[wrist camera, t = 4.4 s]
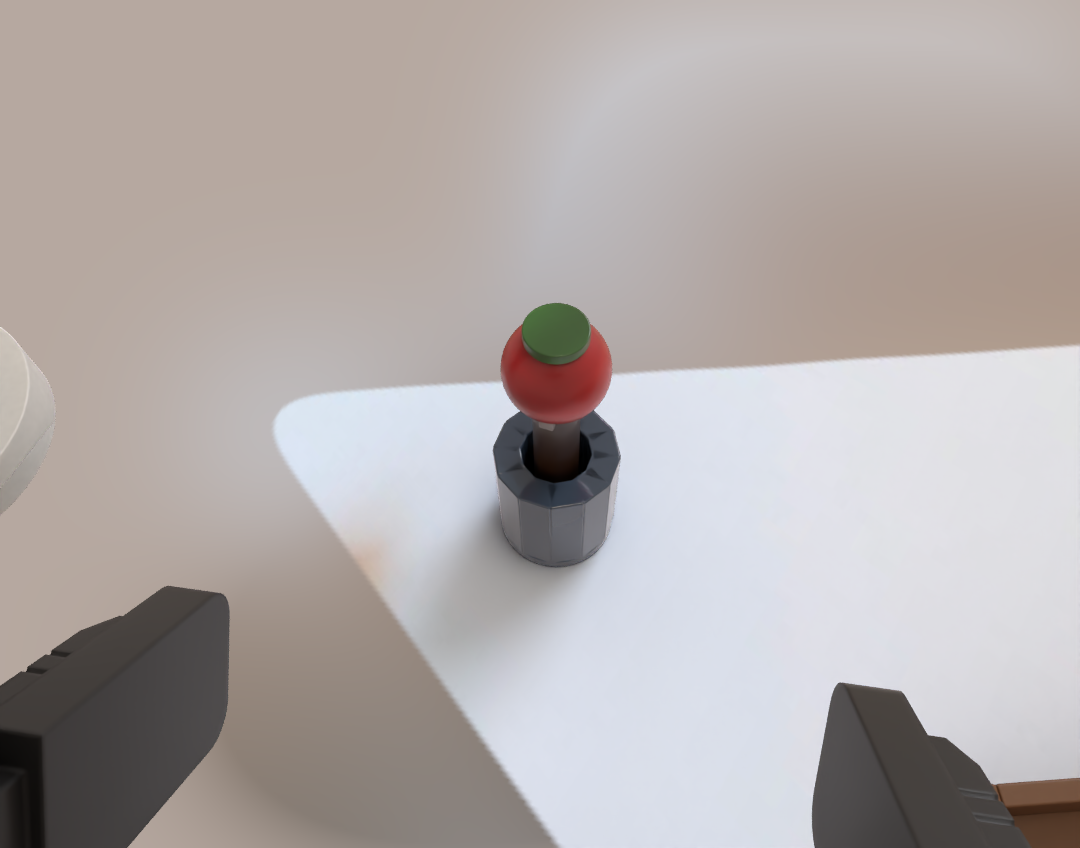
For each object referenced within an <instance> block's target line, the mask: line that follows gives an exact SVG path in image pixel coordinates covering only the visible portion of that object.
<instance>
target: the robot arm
mask: <svg viewBox="0 0 1080 848" xmlns="http://www.w3.org/2000/svg"><path fill="white" fill-rule="evenodd" d="M228 669H229V605H228V601H227V599H226V597H225V596H224V595H223V594H221V593H215V592H208V591H201V590H194V589H186V588H180V587H172V586H166V587H164V588H162V589H160V590H159V591H158V592H156V593H155V594H153V595H152V596H150V597H149V598H148V599H146V600H145V601H144V602H142V603H141V604H139V605H138V606H137V607H135V608H134V609H132V610H131V611H130V612H128V613H127V614H125V615H124V616H118V617H115V618H113V619H110V620H107V621H105V622H102V623H99V624H97V625H94V626H92V627H89V628H86V629H84V630H81V631H79V632H78V633H76V634H75V635H73V636H72V637H70V638H69V639H68V640H66V641H65V642H63V643H62V644H60V645H59V646H57V647H56V648H54V649H53V650H52V651H51V654H50V655H44V656H43V657H41V658H40V659H38V660H37V661H36V662H34V663H33V664H31V665H30V666H28V667H27V671H26V672H20V673H18V674H17V675H15V676H14V677H13V678H11V679H9V680H8V681H7V682H5V683H4V684H2V685H1V686H0V848H127V847H128V846H129V845H130V844H131V843H132V841H133V840H134V839H135V838H136V837H137V836H138V834H139V833H140V832H141V831H142V830H143V828H144V827H145V826H146V825H147V824H148V823H149V821H150V820H151V819H152V818H153V817H154V816H155V814H156V813H157V812H158V811H159V810H160V808H161V807H162V806H163V805H164V804H165V803H166V802H167V800H168V799H169V798H170V797H171V796H172V795H173V793H174V792H175V791H176V790H177V789H178V787H179V786H180V785H181V784H182V783H183V782H184V780H185V779H186V778H187V777H188V776H189V774H190V773H191V772H192V771H193V770H194V769H195V768H196V766H197V765H198V764H199V763H200V762H201V761H202V759H203V758H204V757H205V756H206V755H207V753H208V752H209V751H210V750H211V748H212V747H213V746H214V744H215V742H216V740H217V739H218V737H219V734H220V732H221V729H222V726H223V723H224V720H225V716H226V711H227V704H228ZM998 796H999V795H998V794H997V792H996V791H995V789H994V788H993V786H992V785H991V783H990V781H989V780H988V778H987V777H986V775H985V774H984V772H983V770H982V769H981V767H980V766H979V765H978V764H977V763H975V762H974V761H973V760H972V759H971V758H969V757H968V756H967V755H966V754H965V753H963V752H962V751H961V750H960V749H958V748H957V747H956V746H955V745H954V744H952V743H951V742H950V741H949V740H947V739H946V738H942V737H935V736H929V735H927V733H926V731H925V730H924V728H923V726H922V724H921V723H920V721H919V719H918V718H917V716H916V714H915V712H914V711H913V709H912V707H911V705H910V704H909V702H908V700H907V698H906V697H905V695H904V694H903V693H902V692H901V691H897V690H890V689H883V688H876V687H869V686H862V685H855V684H848V683H838V684H837V685H836V687H835V689H834V691H833V694H832V697H831V702H830V707H829V712H828V718H827V723H826V729H825V734H824V740H823V745H822V750H821V756H820V761H819V767H818V772H817V778H816V783H815V788H814V795H813V805H812V831H813V840H814V845H815V848H1032V847H1031V846H1030V844H1029V842H1028V841H1027V839H1026V838H1025V836H1024V835H1023V833H1022V831H1021V830H1020V828H1019V827H1015V824H1014V822H1015V820H1014V819H1013V817H1012V816H1011V814H1010V813H1009V811H1008V810H1007V808H1006V806H1005V805H1004V803H1003V802H1002V801H999V800H998Z"/></svg>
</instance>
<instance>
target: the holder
mask: <svg viewBox="0 0 1080 848" xmlns="http://www.w3.org/2000/svg"><path fill="white" fill-rule="evenodd" d="M493 456H494V465H495V473H496V482H497V490H498V499H499V507H500V513H501V520H502V526H503V531H504V533H505V536H506V538H507V540H508V541H509V543H510V544H511V545H512V547H513V548H514V549H515V550H516V551H517V552H518V553H519V554H521V555H522V556H523V557H525V558H526V559H528V560H530V561H532V562H535V563H537V564H541V565H545V566H553V567H560V566H568V565H573V564H576V563H578V562H581V561H583V560H585V559H587V558H588V557H590V556H591V555H593V554H594V553H595V552H596V551H597V550H598V549H599V548H600V547H601V546H602V544H603V543H604V541H605V540H606V538H607V536H608V533H609V530H610V527H611V522H612V519H613V516H614V509H615V500H616V492H617V484H618V475H619V467H620V457H621V455H620V452H619V448H618V444H617V440H616V436H615V432H614V430H613V429H612V428H611V427H610V426H609V425H608V424H607V423H606V422H605V421H604V420H603V419H602V418H601V417H600V416H599V415H598V414H597V413H596V412H595V411H594V410H593V411H592V412H591V413H589V414H588V415H586V416H585V417H583V418H581V419H580V443H579V466H578V476H577V477H576V478H574V479H573V480H571V481H564V482H558V483H551V482H548V481H545V480H541V479H538V478H536V477H535V472H534V448H533V425H532V418H530V417H528V416H527V415H525V414H524V413H522V412H521V411H520V412H518V413H517V414H515V415H514V416H513V417H511V418H510V419H508V420H507V421H506V423H504V425H503V427H502V429H501V431H500V433H499V436H498V438H497V440H496V442H495V444H494V446H493Z"/></svg>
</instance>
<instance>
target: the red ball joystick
mask: <svg viewBox="0 0 1080 848" xmlns="http://www.w3.org/2000/svg"><path fill="white" fill-rule="evenodd" d="M611 377H612V361H611V355H610V351H609V348H608V346H607V344H606V342H605V340H604V338H603V337H602V336H601V334H600V333H599V332H598V331H597V330H596V329H595V328H594V327H593V326H592V325H591V324H590V322H589V320H588V318H587V317H586V316H585V315H584V314H583V313H582V312H581V311H580V310H579V309H577V308H575V307H573V306H570V305H567V304H562V303H552V304H546V305H542V306H540V307H538V308H536V309H534V310H533V311H532V312H530V313H529V314H528V316H527V317H526V318H525V320H524V322H523V324H522V325H521V326H520V327H518V328H517V330H516V331H515V332H514V333H513V334H512V335H511V337H510V338H509V340H508V342H507V344H506V346H505V348H504V351H503V355H502V359H501V378H502V382H503V386H504V389H505V391H506V393H507V395H508V397H509V399H510V400H511V402H512V403H513V404H514V405H515V406H516V407H517V409H519V410H520V411H521V412H522V413H524V414H525V415H527V416H528V417H530V418H532V425H533V448H534V472H535V477H536V478H538V479H541V480H545V481H548V482H551V483H558V482H564V481H571V480H573V479H574V478H576V477H577V476H578V466H579V443H580V419H581V418H583V417H585V416H586V415H588V414H589V413H591V412H592V411H593V410H594V409H595V408H596V407H597V406H598V405H599V404H600V402H601V401H602V400H603V398H604V397H605V395H606V393H607V391H608V388H609V385H610V382H611Z"/></svg>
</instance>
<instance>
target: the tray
mask: <svg viewBox="0 0 1080 848" xmlns="http://www.w3.org/2000/svg"><path fill="white" fill-rule="evenodd" d="M991 785H992V786H993V788H994V789H995V791H996V792H997V794H998V795H999V796H998V800H999V801H1002V802H1003V803H1004V805H1005V806H1006V808H1007V810H1008V811H1009V813H1010V814H1011V816H1012V817H1013V819H1014V820H1015V822H1014V824H1015V827H1019V828H1020V830H1021V831H1022V833H1023V835H1024V836H1025V838H1026V839H1027V841H1028V842H1029V844H1030V846H1031V847H1032V848H1080V778H1071V779H1058V780H1045V781H1031V782H1018V783H1005V784H997V785H993V784H991Z"/></svg>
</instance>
